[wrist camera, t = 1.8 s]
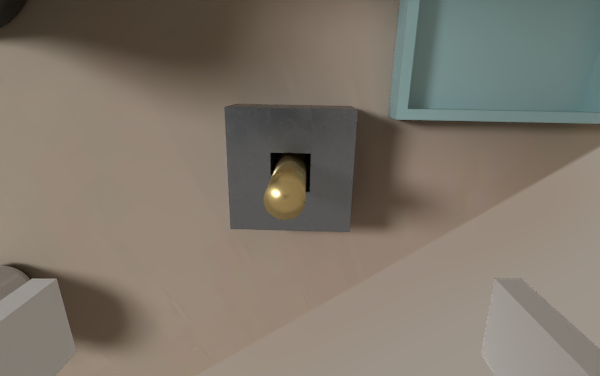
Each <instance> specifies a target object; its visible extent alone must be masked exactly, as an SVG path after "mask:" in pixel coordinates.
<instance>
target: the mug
mask: <svg viewBox="0 0 600 376" xmlns="http://www.w3.org/2000/svg"><path fill="white" fill-rule="evenodd" d="M29 280H30V279H29V277H28V276H27V275H26V274H25V273H23V272H22V271H20V270H18V269H16V268H13V267H9V266H4V265H0V300H2V299H3V298H5V297H6V296H8V295H9V294H11V293H12V292H13V291H15V290H16V289H18V288H19V287H21V286H22V285H24V284H25V283H26V282H28V281H29Z"/></svg>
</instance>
